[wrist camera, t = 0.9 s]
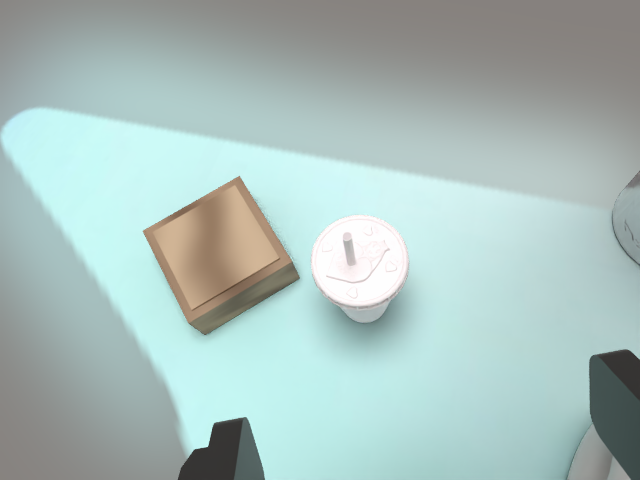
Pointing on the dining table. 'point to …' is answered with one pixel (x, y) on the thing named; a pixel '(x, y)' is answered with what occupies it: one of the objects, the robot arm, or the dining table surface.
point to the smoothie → (360, 265)
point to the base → (220, 256)
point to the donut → (595, 460)
